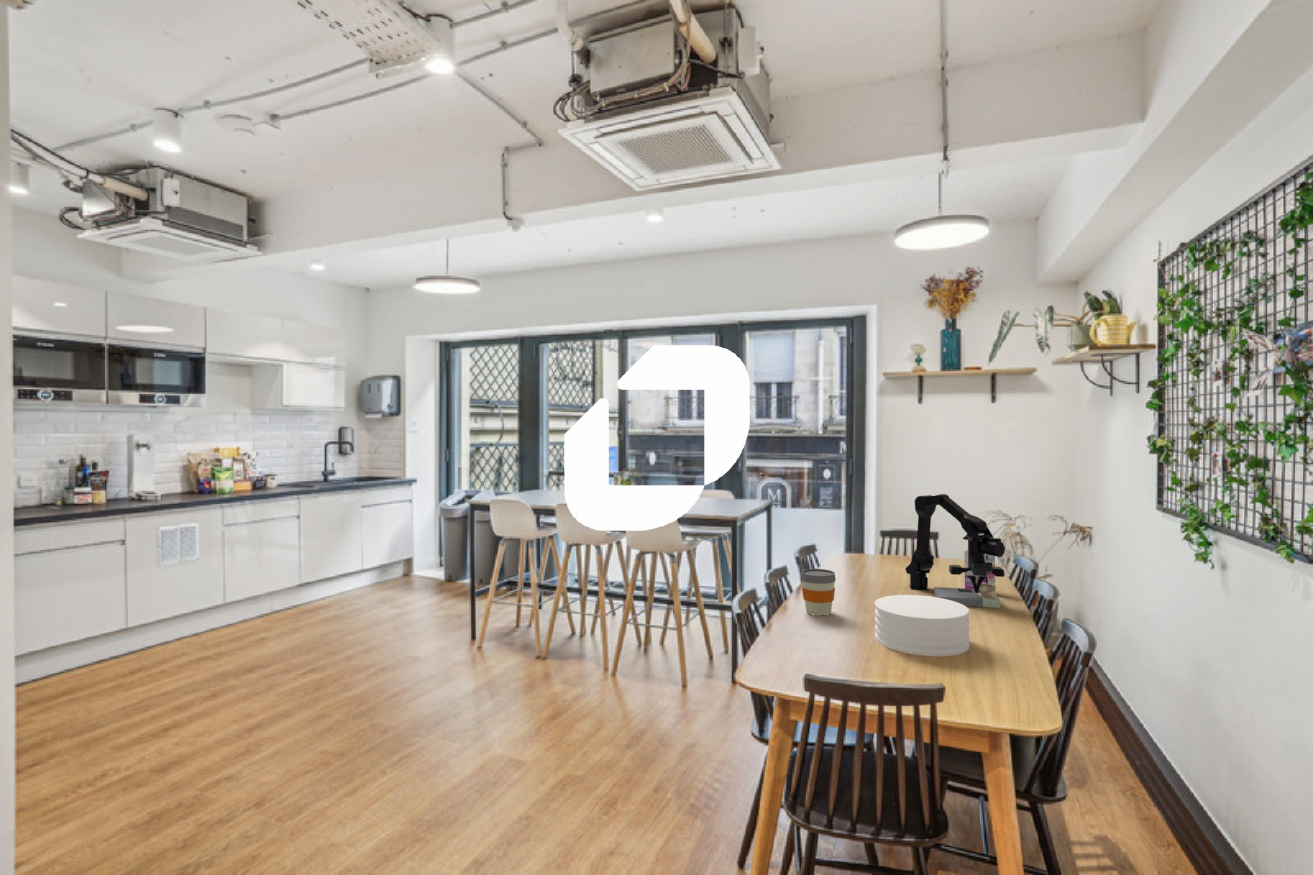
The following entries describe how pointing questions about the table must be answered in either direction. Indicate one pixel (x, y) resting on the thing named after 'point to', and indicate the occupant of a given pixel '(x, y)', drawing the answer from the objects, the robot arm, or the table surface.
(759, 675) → the table surface
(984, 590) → the maple block
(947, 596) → the trap deck
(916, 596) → the plate stack
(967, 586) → the candy bar box
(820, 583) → the reusable coffee cup
